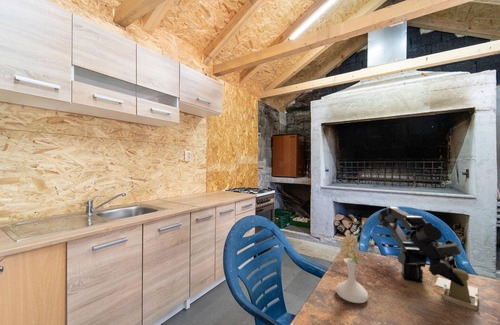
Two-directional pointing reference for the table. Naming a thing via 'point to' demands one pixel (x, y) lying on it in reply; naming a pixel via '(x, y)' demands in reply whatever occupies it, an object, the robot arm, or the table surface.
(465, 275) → the cork
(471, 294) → the white flat panel
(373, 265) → the table surface
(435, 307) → the table surface
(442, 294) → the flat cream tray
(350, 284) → the flower in vase
